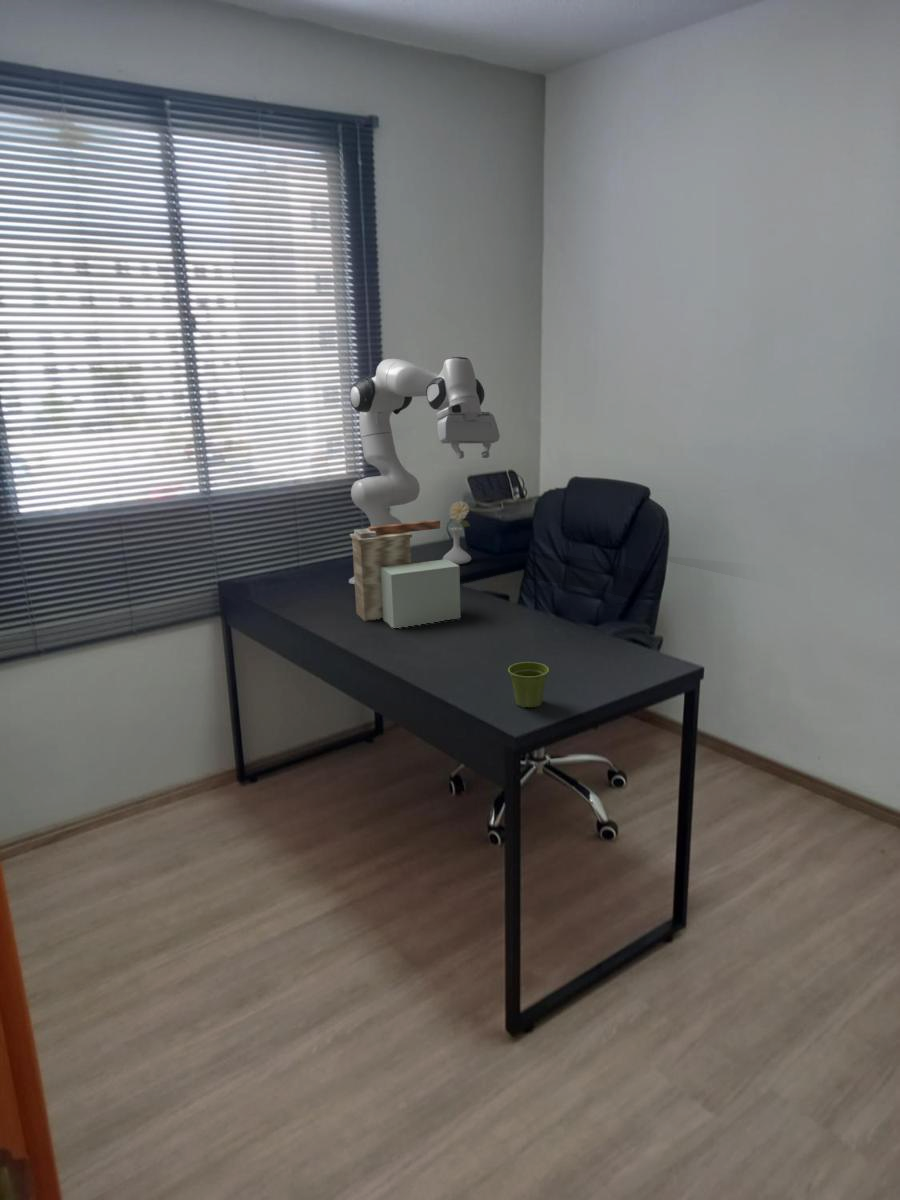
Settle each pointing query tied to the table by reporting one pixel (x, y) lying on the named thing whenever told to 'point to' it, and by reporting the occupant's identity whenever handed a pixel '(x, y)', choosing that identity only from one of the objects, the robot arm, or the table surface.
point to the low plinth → (420, 593)
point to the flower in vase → (458, 534)
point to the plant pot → (528, 682)
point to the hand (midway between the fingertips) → (473, 457)
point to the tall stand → (376, 568)
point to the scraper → (396, 528)
